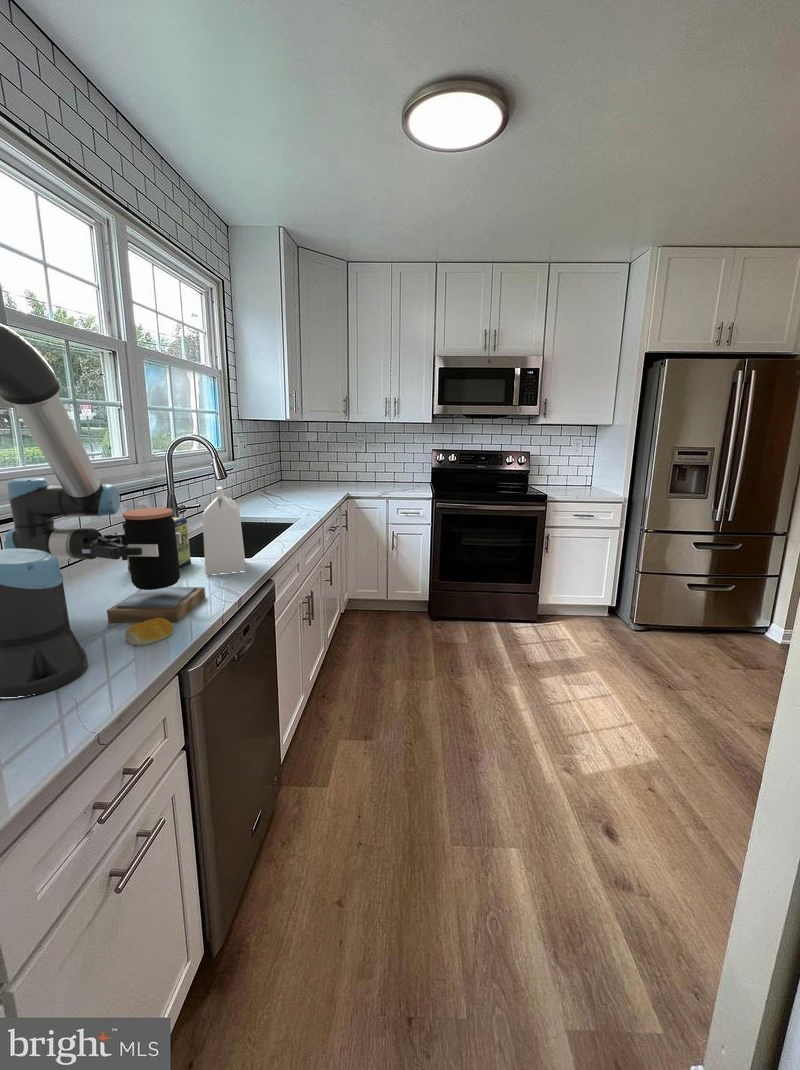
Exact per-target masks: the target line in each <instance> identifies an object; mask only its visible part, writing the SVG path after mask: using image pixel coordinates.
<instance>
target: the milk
mask: <svg viewBox="0 0 800 1070" xmlns="http://www.w3.org/2000/svg"><path fill="white" fill-rule="evenodd" d="M241 521H242V520H241V511H240V507H239V505H237V502H235V500H233V498H230V497H227V496H226V495H224V491H223V486H217V487H216V497H215V498H214V499H213V500H212V502H210V503H209V504H208V505H207V507H206V508H205V509H204V510H203V513H202V532H203V550H204V551H203V552H204V570H205V572H204V573H205V574H204V575H205V576H206V575H212V574H220V573H232V572H240V571H245V572H246V559H245V557H246V556H245V547H244V538H243V530H242V529H243V528H242V522H241ZM212 576H213V575H212Z"/></svg>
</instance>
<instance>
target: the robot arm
mask: <svg viewBox="0 0 800 1070" xmlns="http://www.w3.org/2000/svg"><path fill="white" fill-rule="evenodd" d="M60 392H61V384H60V382H59V380H58V377H57V376H56V374H55V371H54V369H53V368H52V367H51V366H50V364H49V363H48V361H47V360H46V358H44V356H42V354H41V353H40V352H39V351H38V350H37V349H36V348H35V347H33V345H31V344H30V342H28V341H27V340H26V339H25V338H23V337H22V336H21V335H20V334H18V333H17V332H16V331H14V330H12V329H11V328H9V326H6V325H4V324H2V323H0V397H1V398H2V400H3V401H4V402H6V403H8V404H10V405H13V407H14V408H15V409H16V411H17V413H18V415H19V416H20V419H21V420H22V422H23V423H24V424H25V425H24V426H26V428H27V430H28V432H29V433H30V435H31V437H32V439H33V440H34V442H35V443H36V446H37V447H38V449H39V450H40V452H41V454H42V455H43V457H44V459H45V461H46V462H47V463H48V466H49V467H50V469H51V471H52V473H53V474H54V475H55V477H56V479H57V481H58V482H59V484H60V485H50V484H49V483H48V480H47V479H46V478H44V477H23V478H20V477H19V478H15V479H11V480H9V481H8V482H7V492H8V501H9V505H10V509H11V514H12V519H13V520H12V521H13V523H14V524H13V525H14V527H13V528H11V529H10V530H9V531H8V532H6V534H5V536H4V538H5V540H4V541H3V546H4V549H0V697H18V696H28V695H33V694H38V695H40V694H39V693H42V694H44V693H43V692H45V693H48V692H50V691H53V690H57V689H58V688H60V687H63V686H66V685H68V684H69V683H72V682H73V681H75V680H77V679H78V678H79V677H80V676H81V674H82V673H83V674H84V673H85V672H86V670H87V669H88V666H89V663H88V658H87V652H86V651H85V650H84V648H83V647H82V645H81V644H80V642H79V641H78V638H77V637H76V635H75V634H74V632H73V630H72V628H71V624H70V618H69V612H68V606H67V601H66V599H67V598H66V592H65V587H64V576H63V574H62V572H61V568H60V564H59V561H58V560H66V561H67V562H70V561H72V560H94V559H97V558H100V559H101V558H102V559H108V560H109V559H110V560H120V559H122V561H127V560H128V556H127V555H129V556H140V557H157V556H159V552H158V544H129V545H127V544H126V537H125V533H124V532H118V531H117V532H114V533H113V534H112V533H106V534H103V535H102V533H100V531H99V530H97V529H96V528H94V527H93V528H92V527H90V528H88V527H80V528H79V527H55V525H54V524H55V519H54V518H71V517H72V518H77V517H79V518H80V517H81V518H82V517H83V518H84V517H105V516H106V517H107V516H113V515H115V514H117V513H118V512H119V510H120V506H121V497H120V493H119V490H118V488H117V487H116V486H115V485H113V484H107V483H105V484H103V483H102V482H101V479H100V478H99V476H98V473H97V471H96V469H95V467H94V465H93V463H92V461H91V459H90V457H89V455H88V453H87V450H86V449H85V446H84V445H83V443H82V441H81V438H80V437H79V435H78V433H77V431H76V427H75V426H74V424H73V422H72V420H71V418H70V416H69V413H68V411H67V409H66V408H65V404H63V402H62V399H61V397H60V395H59V394H60ZM176 540H177V544H181V535H180V533H176ZM126 546H128V548H126ZM84 671H85V672H84ZM83 674H82V675H83ZM77 677H78V678H77Z"/></svg>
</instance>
